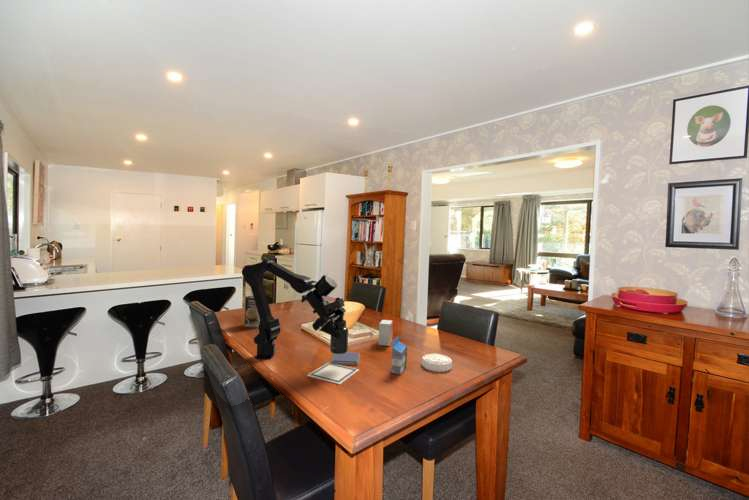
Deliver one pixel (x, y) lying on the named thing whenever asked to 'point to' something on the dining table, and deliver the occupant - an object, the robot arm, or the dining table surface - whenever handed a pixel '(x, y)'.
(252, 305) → the coffee box
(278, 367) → the dining table surface
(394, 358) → the label tape cartridge
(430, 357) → the mooncake
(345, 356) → the pad
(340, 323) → the supplement bottle
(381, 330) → the small box
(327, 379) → the marked card
